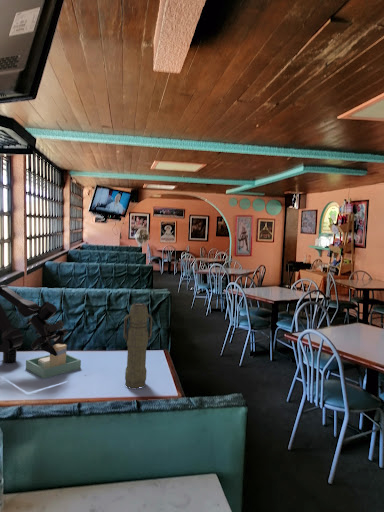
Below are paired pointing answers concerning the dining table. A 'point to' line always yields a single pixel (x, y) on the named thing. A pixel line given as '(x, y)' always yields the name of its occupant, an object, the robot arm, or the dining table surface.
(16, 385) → the dining table surface
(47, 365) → the beige rectangular block
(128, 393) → the dining table surface
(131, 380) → the thermos
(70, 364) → the tote
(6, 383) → the dining table surface
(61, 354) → the oat carton
